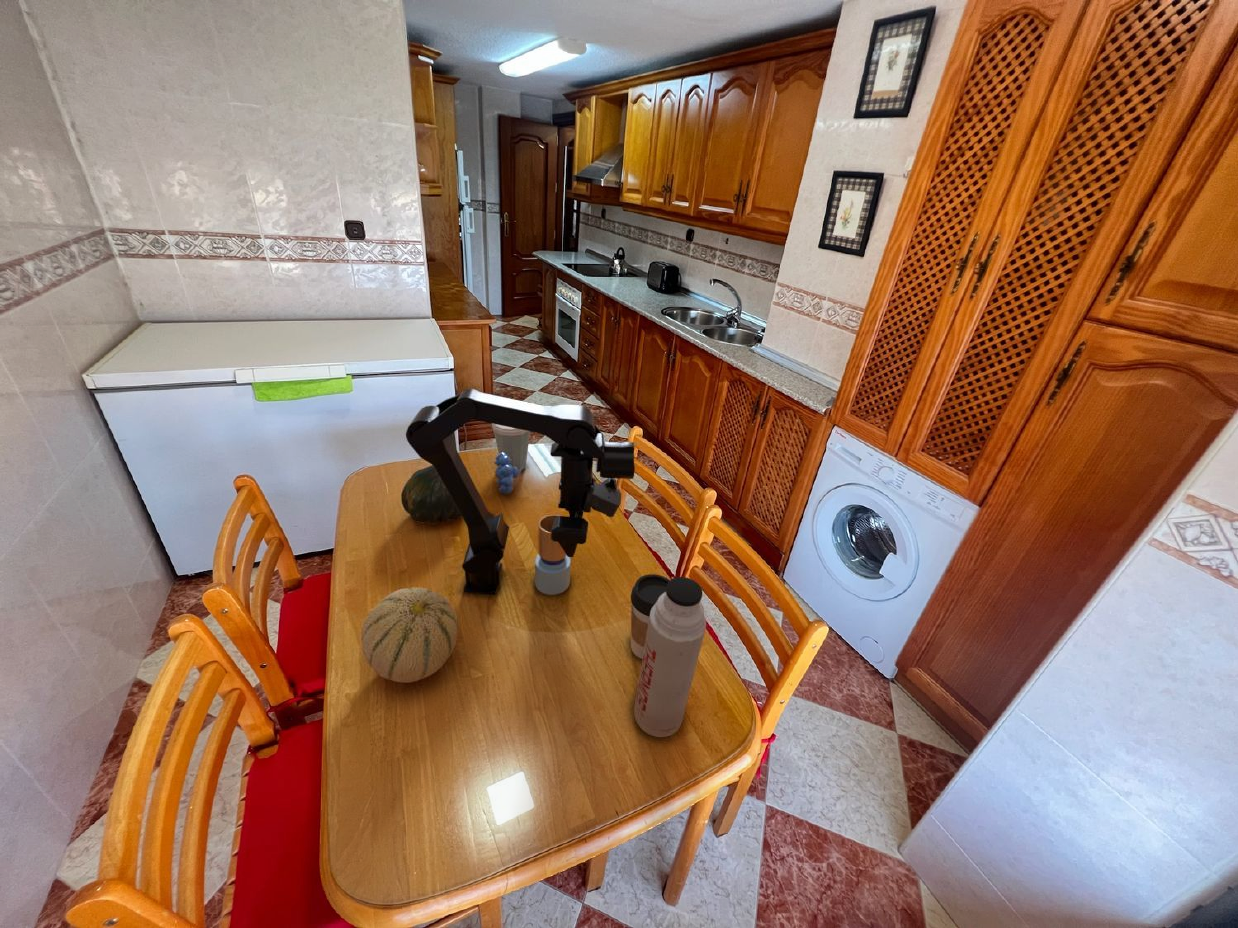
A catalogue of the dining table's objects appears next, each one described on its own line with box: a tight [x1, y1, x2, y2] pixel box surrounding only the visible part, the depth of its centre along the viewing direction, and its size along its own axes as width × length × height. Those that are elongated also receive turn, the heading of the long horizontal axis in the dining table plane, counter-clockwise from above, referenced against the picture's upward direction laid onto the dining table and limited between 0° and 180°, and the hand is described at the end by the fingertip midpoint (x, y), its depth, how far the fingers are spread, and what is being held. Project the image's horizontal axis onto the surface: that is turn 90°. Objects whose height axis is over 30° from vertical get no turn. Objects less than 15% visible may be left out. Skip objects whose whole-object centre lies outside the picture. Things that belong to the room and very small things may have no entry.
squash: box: [400, 464, 462, 525], centre depth 117 cm, size 14×15×15 cm
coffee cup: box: [630, 573, 671, 660], centre depth 88 cm, size 8×8×15 cm
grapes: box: [494, 452, 522, 495], centre depth 128 cm, size 12×7×12 cm, turn 23°
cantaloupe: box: [360, 586, 459, 683], centre depth 81 cm, size 15×15×15 cm
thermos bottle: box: [633, 576, 707, 738], centre depth 74 cm, size 8×8×28 cm
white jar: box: [534, 553, 572, 596], centre depth 102 cm, size 7×7×8 cm
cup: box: [537, 513, 567, 561], centre depth 98 cm, size 6×6×7 cm
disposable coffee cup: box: [491, 423, 531, 472], centre depth 138 cm, size 11×11×15 cm
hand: (573, 541), depth 98 cm, fingers open, 9 cm apart
